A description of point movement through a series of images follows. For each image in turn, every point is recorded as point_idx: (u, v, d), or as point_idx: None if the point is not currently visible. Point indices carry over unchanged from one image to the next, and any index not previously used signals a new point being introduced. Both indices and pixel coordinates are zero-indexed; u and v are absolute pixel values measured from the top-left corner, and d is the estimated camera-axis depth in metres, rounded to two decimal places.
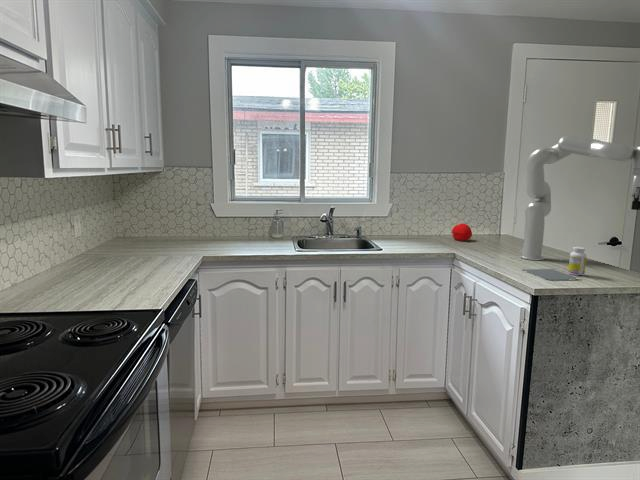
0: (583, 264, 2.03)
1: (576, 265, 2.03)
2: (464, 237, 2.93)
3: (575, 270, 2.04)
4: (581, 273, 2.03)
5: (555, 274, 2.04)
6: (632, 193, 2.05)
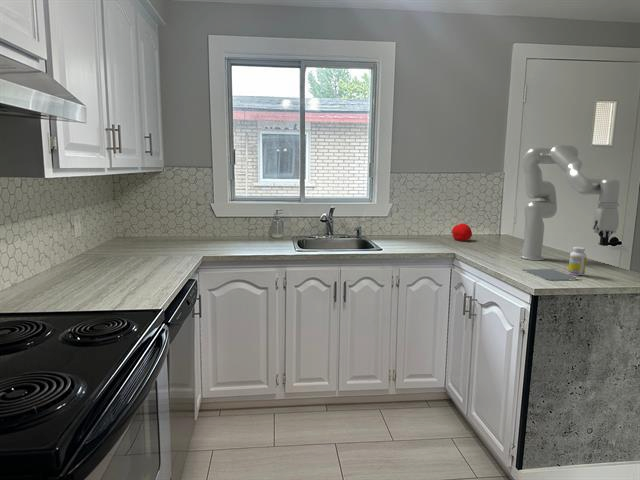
0: (583, 264, 2.03)
1: (576, 265, 2.03)
2: (464, 237, 2.93)
3: (575, 270, 2.04)
4: (581, 273, 2.03)
5: (555, 274, 2.04)
6: (592, 226, 2.06)
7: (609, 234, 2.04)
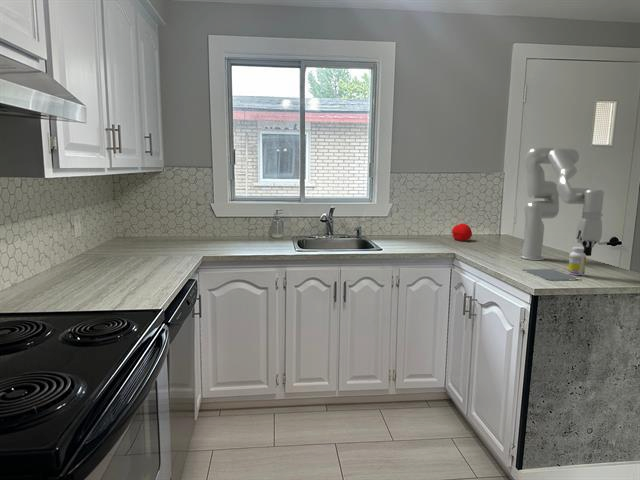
0: (583, 264, 2.03)
1: (576, 265, 2.03)
2: (464, 237, 2.93)
3: (575, 270, 2.04)
4: (581, 273, 2.03)
5: (555, 274, 2.04)
6: (576, 236, 2.05)
7: (592, 244, 2.04)
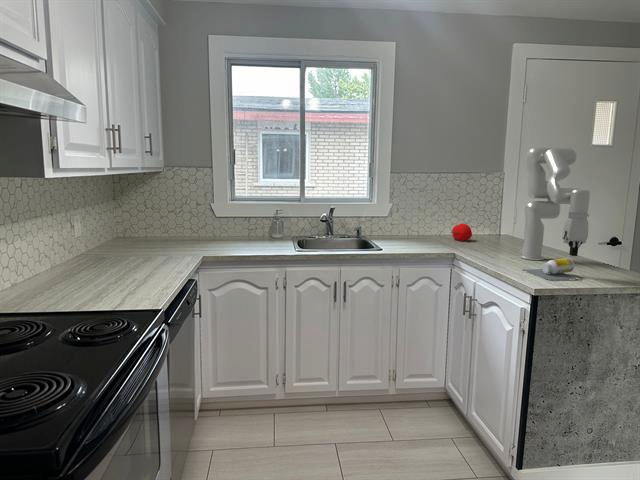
0: (564, 266, 2.01)
1: (563, 271, 2.03)
2: (464, 237, 2.93)
3: (568, 271, 2.03)
4: (572, 266, 2.02)
5: (555, 274, 2.04)
6: (562, 236, 2.04)
7: (578, 244, 2.03)
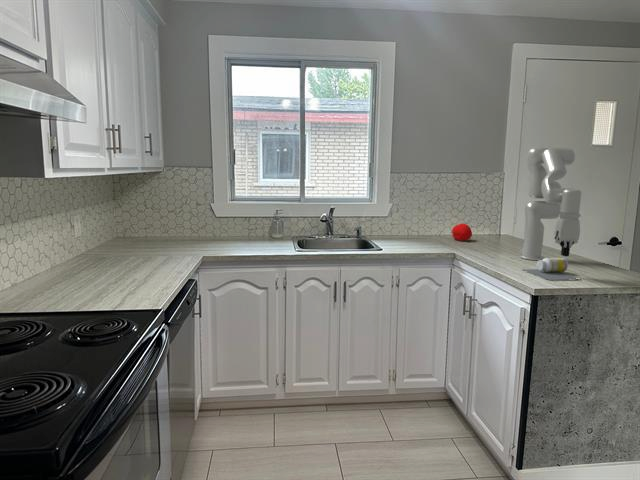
0: (554, 258, 2.09)
1: (558, 262, 2.06)
2: (464, 237, 2.93)
3: (563, 262, 2.07)
4: (562, 258, 2.09)
5: (555, 274, 2.04)
6: (554, 236, 2.04)
7: (570, 244, 2.02)
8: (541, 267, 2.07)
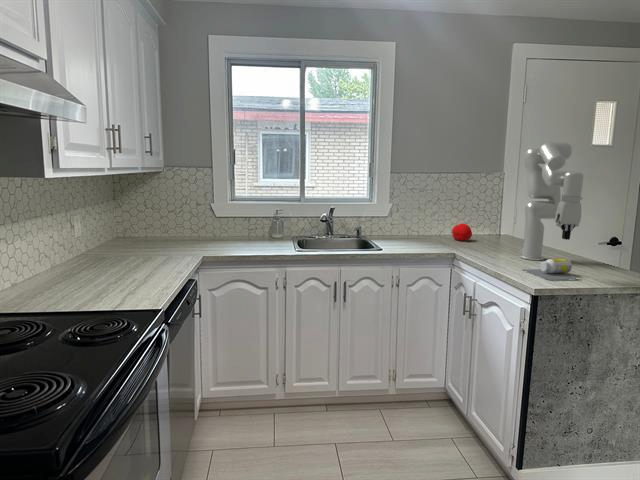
0: (560, 262, 2.04)
1: (562, 268, 2.04)
2: (464, 237, 2.93)
3: (567, 268, 2.04)
4: (569, 263, 2.05)
5: (555, 274, 2.04)
6: (555, 219, 2.03)
7: (571, 228, 2.01)
8: (543, 269, 2.05)
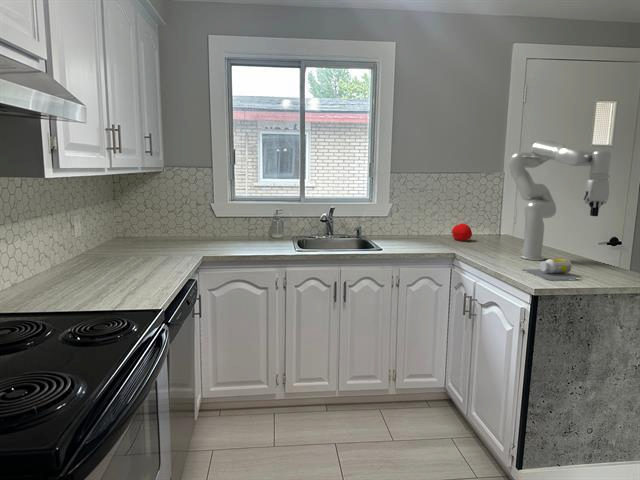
0: (560, 261, 2.04)
1: (562, 268, 2.04)
2: (464, 237, 2.93)
3: (567, 268, 2.04)
4: (569, 262, 2.05)
5: (555, 274, 2.04)
6: (583, 197, 2.10)
7: (599, 205, 2.08)
8: (543, 269, 2.05)
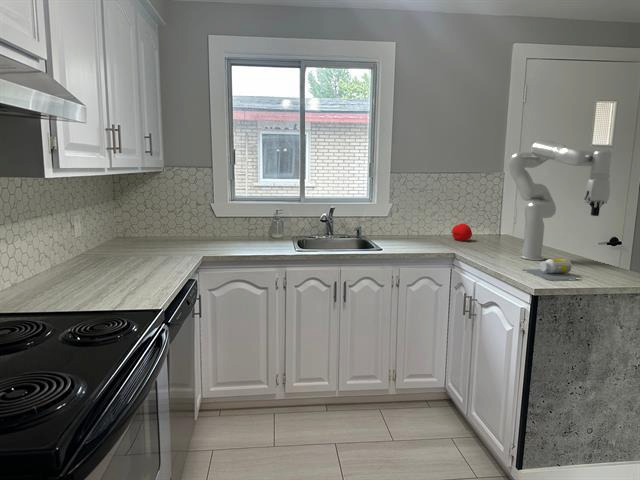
0: (560, 261, 2.04)
1: (562, 268, 2.04)
2: (464, 237, 2.93)
3: (567, 268, 2.04)
4: (569, 262, 2.05)
5: (555, 274, 2.04)
6: (584, 197, 2.11)
7: (600, 204, 2.09)
8: (543, 269, 2.05)
